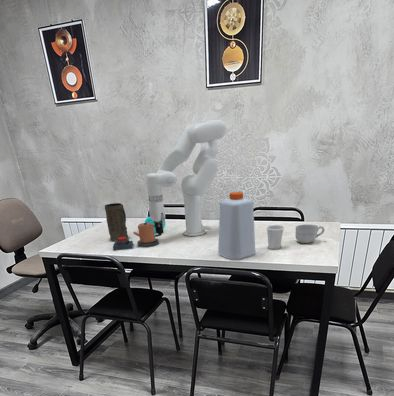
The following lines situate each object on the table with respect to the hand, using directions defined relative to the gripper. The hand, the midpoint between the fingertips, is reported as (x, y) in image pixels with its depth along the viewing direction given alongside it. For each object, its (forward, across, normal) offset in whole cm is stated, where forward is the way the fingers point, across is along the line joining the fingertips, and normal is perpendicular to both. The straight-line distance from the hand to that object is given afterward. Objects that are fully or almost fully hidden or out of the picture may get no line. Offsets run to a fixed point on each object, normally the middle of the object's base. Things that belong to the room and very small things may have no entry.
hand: (159, 233), depth 192 cm
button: (+1, -5, -21) cm, 21 cm away
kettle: (+2, 0, -8) cm, 8 cm away
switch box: (+5, -4, -21) cm, 22 cm away
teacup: (+4, +60, +54) cm, 80 cm away
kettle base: (+4, 0, -8) cm, 9 cm away
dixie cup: (+4, +54, +35) cm, 65 cm away
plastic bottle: (+5, +48, +15) cm, 51 cm away
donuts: (+5, -20, +8) cm, 22 cm away
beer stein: (+5, -24, -14) cm, 28 cm away
